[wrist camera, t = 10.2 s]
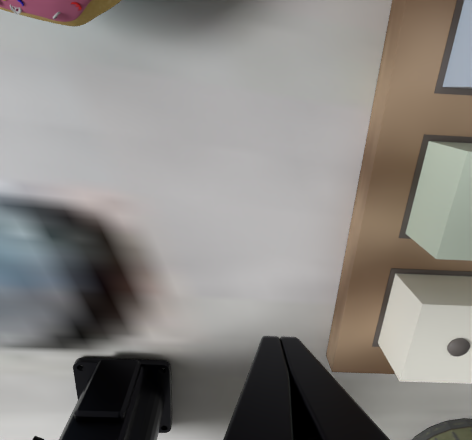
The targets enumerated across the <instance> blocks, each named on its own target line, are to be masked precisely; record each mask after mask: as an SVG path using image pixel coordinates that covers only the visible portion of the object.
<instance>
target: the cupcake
mask: <svg viewBox="0 0 472 440" xmlns="http://www.w3.org/2000/svg"><path fill="white" fill-rule="evenodd" d="M120 1H121V0H0V9H2V10H5V11H9V12H12V13H15V14H20V15H24V16H27V17H31V18H35V19H39V20H43V21H48V22H52V23H57V24H61V25H67V26H80V25H83V24H86V23H87V22H89V21H91V20H92V19H94V18H95V17H97V16H99V15H100V14H102V13H104V12H106V11H107V10H109V9H111V8H112V7H113V6H115V5H116V4H117V3H119V2H120Z"/></svg>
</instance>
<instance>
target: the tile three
mask: <svg viewBox="0 0 472 440" xmlns="http://www.w3.org/2000/svg"><path fill="white" fill-rule="evenodd" d="M443 87H452V88H469V89H472V0H464V4H463V7H462V11H461V15H460V19H459V23H458V27H457V31H456V35H455V39H454V43H453V47H452V51H451V55H450V59H449V63H448V67H447V71H446V75H445V79H444V83H443Z"/></svg>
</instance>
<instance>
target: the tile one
mask: <svg viewBox="0 0 472 440" xmlns="http://www.w3.org/2000/svg"><path fill="white" fill-rule="evenodd" d="M378 344H379V346H380V348H381V349H382V351H383V353H384V355H385V356H386V358H387V360H388V362H389V363H390V365H391V367H392V369H393V370H394V372H395V374H396V376H397V377H398V379H399V381H403V382H435V383H468V384H472V276H447V275H422V274H398V273H395V277H394V281H393V285H392V289H391V293H390V297H389V301H388V305H387V309H386V313H385V317H384V321H383V325H382V329H381V332H380V336H379V340H378Z"/></svg>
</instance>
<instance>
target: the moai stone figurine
mask: <svg viewBox="0 0 472 440" xmlns="http://www.w3.org/2000/svg"><path fill="white" fill-rule="evenodd" d="M413 440H472V419H458V420H452V421H446V422H443V423H440V424H438V425H435V426H432V427H430V428H428V429H426V430H425V431H423V432H422V433H420V434H419V435H417V436H415V437H414V438H413Z"/></svg>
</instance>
